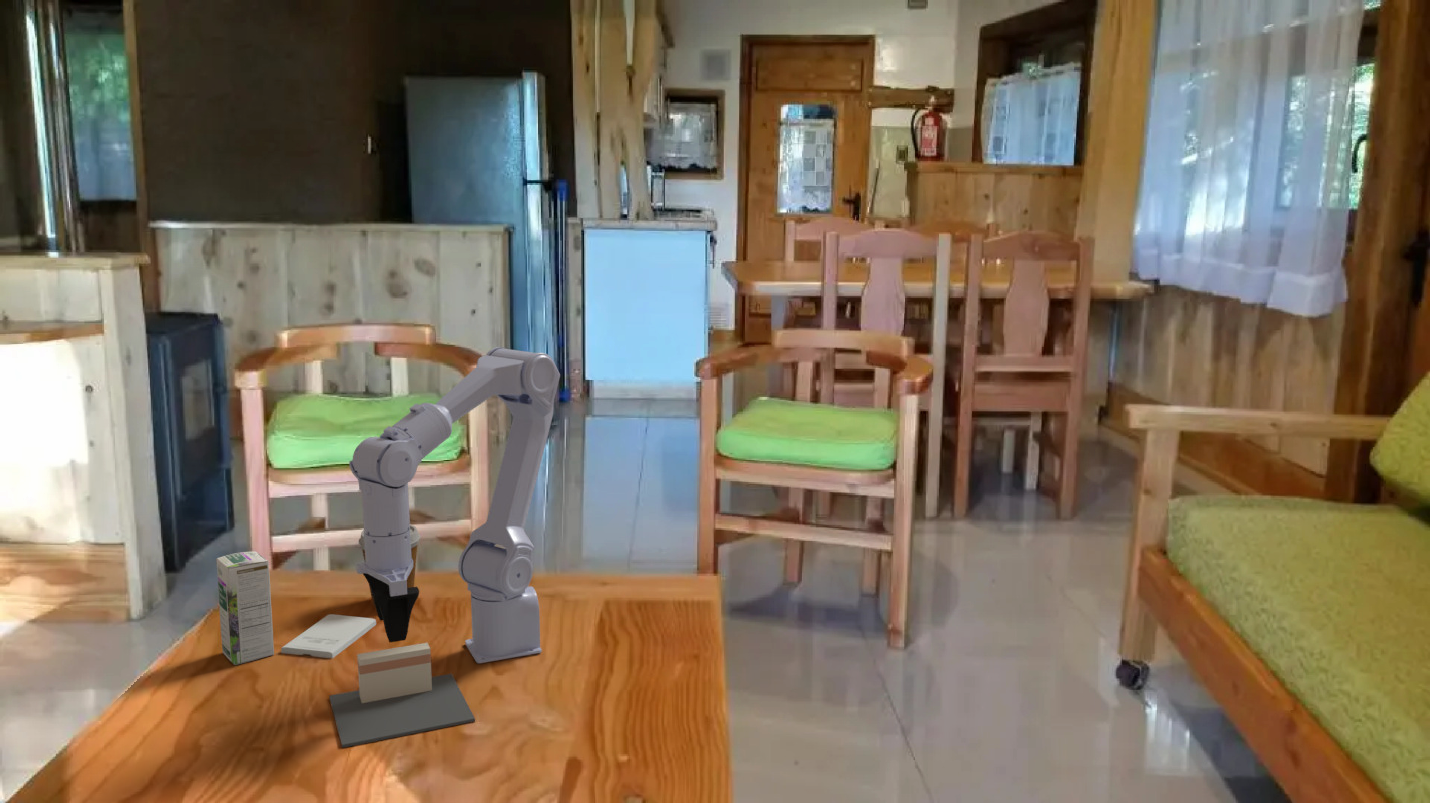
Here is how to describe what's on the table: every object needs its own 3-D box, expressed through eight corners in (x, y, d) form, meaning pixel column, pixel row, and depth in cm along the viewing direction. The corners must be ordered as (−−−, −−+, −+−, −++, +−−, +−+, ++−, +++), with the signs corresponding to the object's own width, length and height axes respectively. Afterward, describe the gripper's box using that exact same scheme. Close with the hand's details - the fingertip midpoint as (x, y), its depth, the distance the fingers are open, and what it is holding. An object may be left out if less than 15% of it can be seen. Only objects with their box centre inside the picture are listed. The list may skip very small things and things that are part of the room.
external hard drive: (376, 628, 166) (332, 662, 154) (328, 623, 167) (281, 656, 155) (376, 618, 165) (332, 651, 153) (327, 613, 167) (280, 645, 155)
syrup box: (221, 653, 155) (213, 557, 152) (263, 642, 159) (256, 548, 156) (233, 666, 151) (225, 568, 148) (276, 655, 154) (269, 559, 152)
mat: (451, 676, 148) (451, 673, 148) (475, 721, 136) (474, 718, 136) (329, 698, 142) (329, 695, 142) (342, 747, 129) (342, 744, 129)
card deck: (429, 684, 145) (427, 642, 144) (432, 690, 143) (430, 648, 142) (359, 696, 141) (357, 654, 140) (361, 703, 140) (359, 660, 138)
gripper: (347, 518, 143) (352, 614, 145) (362, 551, 130) (368, 656, 133) (401, 511, 146) (406, 606, 148) (422, 543, 133) (426, 646, 136)
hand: (392, 629), depth 141 cm, fingers open, 7 cm apart
